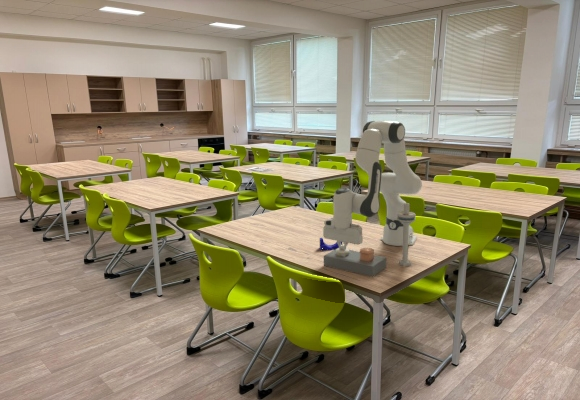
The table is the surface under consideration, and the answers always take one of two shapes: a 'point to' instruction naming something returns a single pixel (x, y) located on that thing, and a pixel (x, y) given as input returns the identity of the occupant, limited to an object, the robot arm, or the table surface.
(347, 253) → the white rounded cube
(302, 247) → the table surface
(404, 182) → the robot arm
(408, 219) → the model tower
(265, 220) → the table surface
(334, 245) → the cable clip
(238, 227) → the table surface
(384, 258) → the console
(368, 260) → the terracotta plunger
